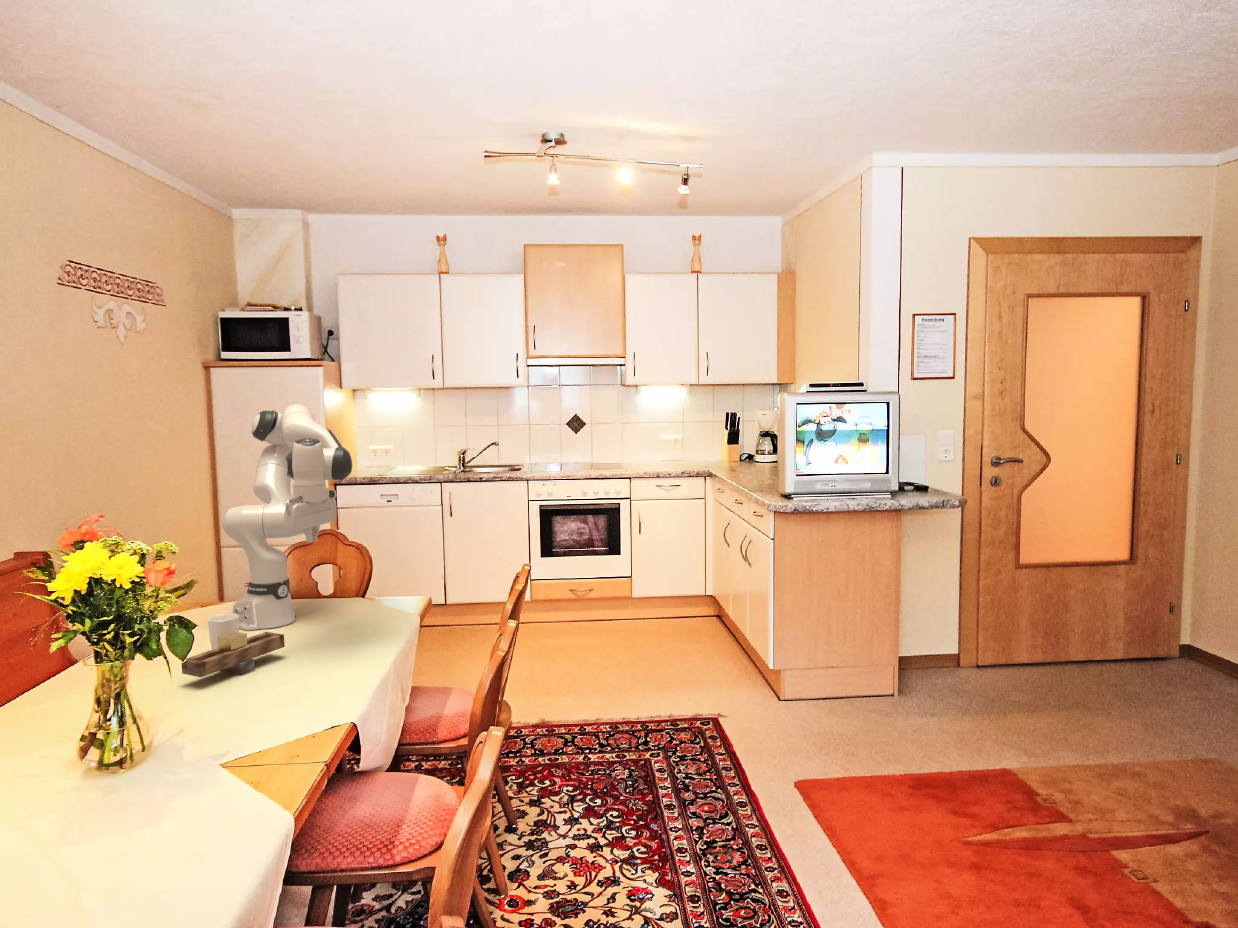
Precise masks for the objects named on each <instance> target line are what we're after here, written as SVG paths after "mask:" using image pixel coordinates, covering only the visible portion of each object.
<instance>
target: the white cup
mask: <svg viewBox="0 0 1238 928" xmlns="http://www.w3.org/2000/svg"><path fill="white" fill-rule="evenodd" d="M207 626H208V634H209V640H210V646H211V650H213V649H216V648H218V641H217V637H218V636H221V635H224V634H228V633H231V632H239V629H240V628H239V625H238V615H237V614H233V613H222V614H217V615H214V616H210V617H209V618H207Z"/></svg>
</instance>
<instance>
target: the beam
mask: <svg viewBox="0 0 1238 928" xmlns="http://www.w3.org/2000/svg"><path fill="white" fill-rule="evenodd" d="M285 646H286V645H285V635H284V634H281V633H278V632H277V633H276V632H270V631H265V632H261V633H258V634H255V635H253V636H249V637H247V645H245V646H242V647H239V648H236V649H233V650H231V651H228V652H225V653H223V649H222V648H216V649H213V650H212V649H209V650H208V651H204V652H202V653H199V654H196V655H192V656H190V657H187V658H185V659H186V661H185V662H184V663H181V674H183V675H187V676H192V677H197V678H203V677H207V676H209V675H211V674H215V673H217V672H219V671H220V672H224V673H228V674H235V675H239V676H244V675H246V674H248V673H251V672H254V671H256V668H255V658H258V657H261V656H263V655H265V654H268V653H272V652H275V651H277V650H279V649H282V648H284V647H285Z"/></svg>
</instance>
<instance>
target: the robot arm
mask: <svg viewBox="0 0 1238 928" xmlns="http://www.w3.org/2000/svg"><path fill="white" fill-rule="evenodd" d="M251 434H252V436H253V437H254V438H255V439H256V440H259V441H260V442H265V443H267V444H268V445H267V446H265V447H264V448H263V449H262V451H261V454H260V455H259V458H258V461H257V465H256V469H255V473H254V474H255V476H254V481H253V487H252V490H253V493H254V495H255V496H256V497H257V498H258V499H259V500H260V501H262V502H264V503H265V504H243V505H239V506H235V507H231V508H229V509H228V510H227V511H226V512H225V513H224V515H223V517H222V521H221V523H222V524H221V525H222V530H223V531H224V533H225V534H226V535H227V537H229V538H230V539H232V540H234V541H235V542H236V543H237V544H239V546H240V547H241V548H242V549H243V550H244V552H245V554H246V557H247V559H248V568H249V574H250V575H249V577H250V581H249V582H246V583H244V588H246V587H247V589H246V593H245V594H244V595H243V596H242V597H240V598H239V599H238V600H237V601H236V602H235V603H234V604H233V606H232V614H237V615H238V625H239V629H242V630H244V631H254V630H259V629H261V630H262V629H273V628H278V627H279V628H280V627H284V626H287V625H291V624H292V623H294V622H295V621H296V618H295V617H296V612H295V611H294V607H293V606H294V605H293V600H292V594H291V592H290V589H291V588H290V587H291V586H290V584H291V581H290V578H289V576H288V573H289V572H288V557H287V555H286V554H285V552H283V551H282V550H280V549H278V548H275V547H273V546H271V545H270V544H269V542H268V541H267V539H278V538H279V539H280V538H281V539H282V538H291V537H296V536H300V535H303V534H304V536H305V543H309V544H311V543H314V542H317V541H318V535H319V532H320V529H321V527H320V526H322V525H325V524H330V523H332V522H335V521H336V519H337V515H338V513H337V508H338V507H337V501H336V498H337V491H336V490H335V489H332V488H328V487H327V486H326V485H327V482H326V481H330V480H331V481H344V480H345V479H347V478H348V477H349V476H350V474H351V473H352V470H353V458H352V456H351V453H350V452H349V450H347V449H346V448H345V447H343V445H342V443H340V441H339V439H338V438H337V437H336V436H335V434H334V433H333V431H332V430H330V429H329V428H327V427H324V426H323V425H321V424H320V423H318V422H317V421H316V418H315V416H314V413H312V411H311V409H310V408H308V407H307V406H305V405H303V404H300V403H296V404H291V405H289V406H287V407H286V408H285V409H284V410H283V412H282V413H280V412H277V411H276V410H262V411H260V412H258V414H257V415H256V416H255V417H254V418H253V420H252V423H251ZM269 444H270V445H269ZM291 480H293V482H292V489H293V490H292V492H293V494H292V493H291ZM292 495H293V496H292Z"/></svg>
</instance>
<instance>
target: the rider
mask: <svg viewBox="0 0 1238 928" xmlns="http://www.w3.org/2000/svg"><path fill="white" fill-rule="evenodd" d="M247 638H248V634H247V633H244V632H239V631H238V632H231V633H228V634H224V635H221V636H218V637H217V641H218V648H222V649H223V653H225V652H228V651H231V650H233V649H236V648H239V647H242V646H245V645H247Z"/></svg>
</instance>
